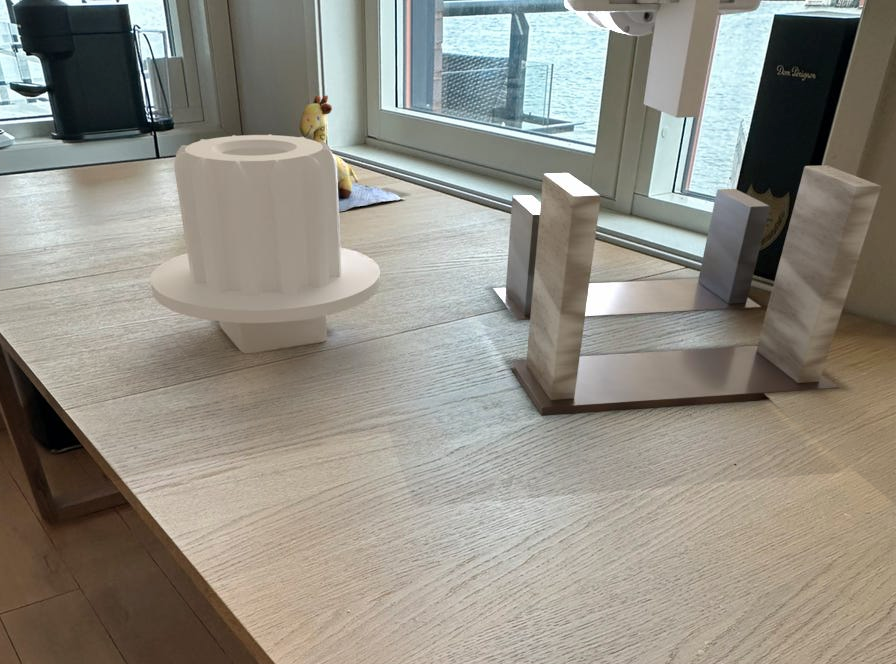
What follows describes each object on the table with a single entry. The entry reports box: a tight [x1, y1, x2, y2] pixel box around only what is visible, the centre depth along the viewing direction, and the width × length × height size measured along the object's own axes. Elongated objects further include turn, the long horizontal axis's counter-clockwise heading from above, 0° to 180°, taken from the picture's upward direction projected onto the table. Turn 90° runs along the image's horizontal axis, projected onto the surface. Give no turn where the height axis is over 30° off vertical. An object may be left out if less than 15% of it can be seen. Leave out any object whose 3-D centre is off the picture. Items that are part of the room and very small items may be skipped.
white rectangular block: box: [643, 0, 720, 119], centre depth 83 cm, size 2×9×18 cm, turn 10°
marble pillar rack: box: [509, 164, 882, 416], centre depth 83 cm, size 31×12×19 cm, turn 100°
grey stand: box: [492, 188, 771, 321], centre depth 104 cm, size 31×12×12 cm, turn 100°
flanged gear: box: [149, 133, 381, 355], centre depth 93 cm, size 25×25×19 cm
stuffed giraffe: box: [299, 94, 404, 213], centre depth 145 cm, size 16×18×16 cm
